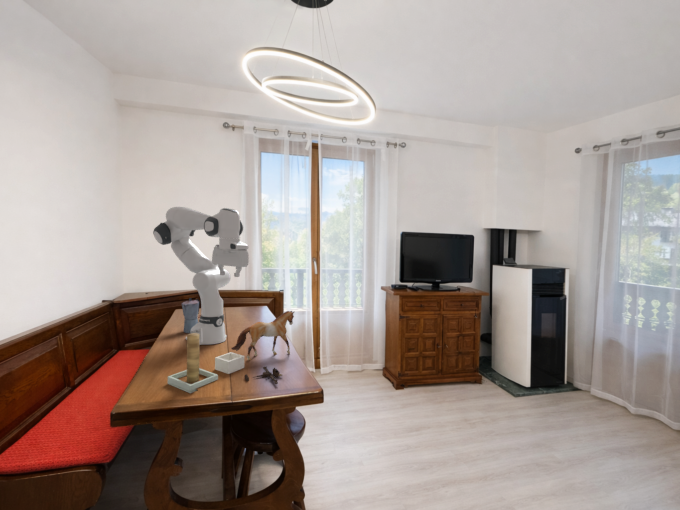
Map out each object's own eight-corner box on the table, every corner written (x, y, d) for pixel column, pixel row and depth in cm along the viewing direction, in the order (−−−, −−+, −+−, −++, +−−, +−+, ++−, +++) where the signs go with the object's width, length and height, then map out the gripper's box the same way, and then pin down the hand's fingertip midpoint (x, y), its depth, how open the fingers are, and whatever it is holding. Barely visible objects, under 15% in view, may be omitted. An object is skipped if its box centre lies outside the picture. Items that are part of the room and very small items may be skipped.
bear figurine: (240, 367, 140) (274, 358, 146) (241, 377, 140) (275, 368, 147) (250, 384, 124) (288, 374, 131) (251, 395, 124) (288, 384, 131)
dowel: (185, 380, 130) (185, 334, 129) (196, 377, 133) (197, 332, 132) (189, 384, 127) (189, 337, 126) (200, 381, 130) (201, 335, 129)
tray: (167, 383, 128) (167, 376, 128) (195, 373, 139) (195, 366, 138) (190, 393, 121) (190, 385, 121) (217, 381, 131) (218, 374, 131)
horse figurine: (292, 349, 172) (293, 309, 171) (298, 354, 165) (299, 312, 164) (230, 360, 155) (231, 315, 154) (235, 365, 148) (236, 319, 147)
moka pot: (176, 334, 192) (176, 299, 191) (191, 327, 208) (191, 295, 207) (191, 335, 191) (191, 300, 190) (206, 328, 206) (206, 295, 205)
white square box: (214, 371, 141) (215, 357, 141) (230, 365, 148) (231, 352, 148) (228, 376, 137) (228, 361, 136) (244, 369, 144) (244, 356, 144)
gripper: (208, 244, 152) (208, 274, 153) (240, 245, 141) (239, 278, 142) (219, 244, 157) (219, 273, 158) (251, 245, 147) (250, 277, 147)
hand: (229, 276), depth 150 cm, fingers open, 8 cm apart
